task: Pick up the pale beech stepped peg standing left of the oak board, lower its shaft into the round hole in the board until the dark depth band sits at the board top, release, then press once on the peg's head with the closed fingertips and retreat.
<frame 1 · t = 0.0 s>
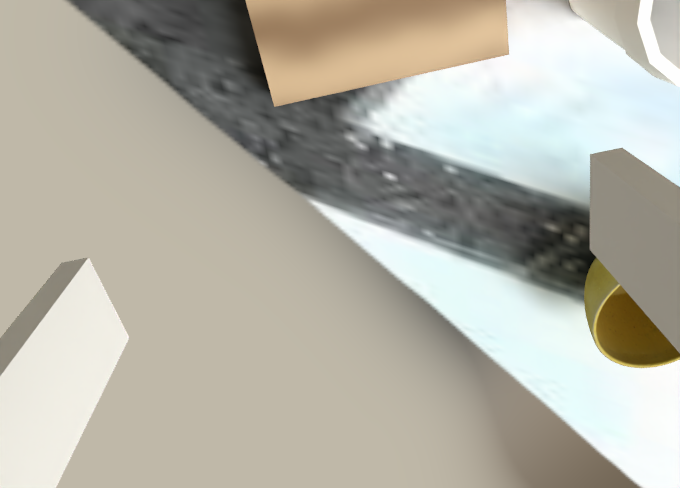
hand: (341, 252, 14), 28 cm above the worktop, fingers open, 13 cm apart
flower pot: (615, 267, 48), on the worktop
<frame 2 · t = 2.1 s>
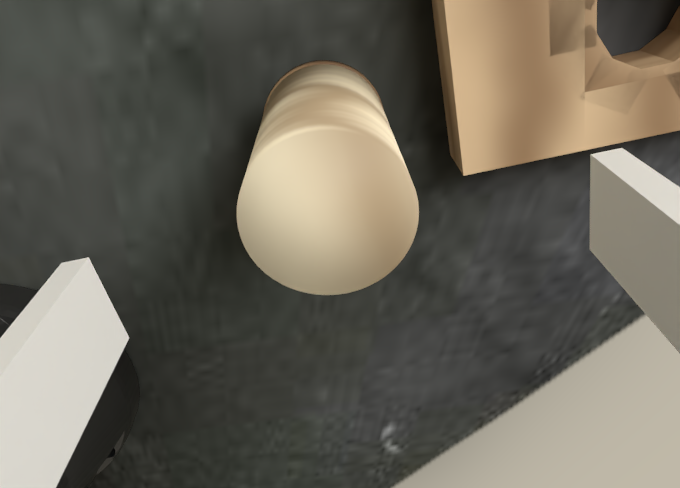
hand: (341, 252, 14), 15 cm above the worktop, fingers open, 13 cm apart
peg: (323, 106, 28), on the worktop
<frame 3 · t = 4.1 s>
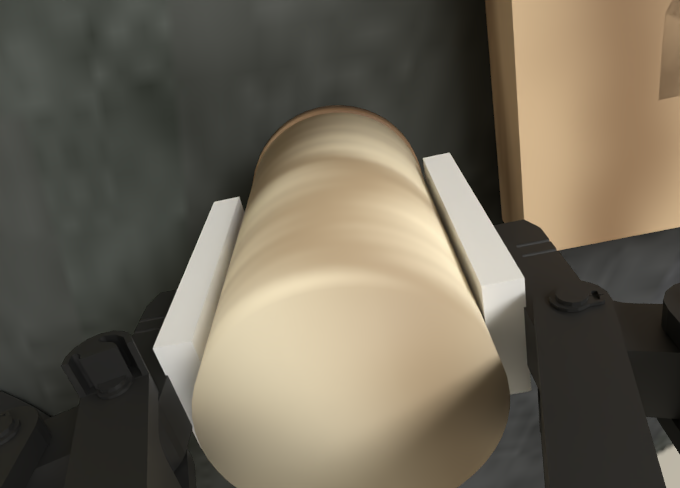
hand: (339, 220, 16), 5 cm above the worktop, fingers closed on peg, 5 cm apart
peg: (336, 157, 21), on the worktop, touching gripper
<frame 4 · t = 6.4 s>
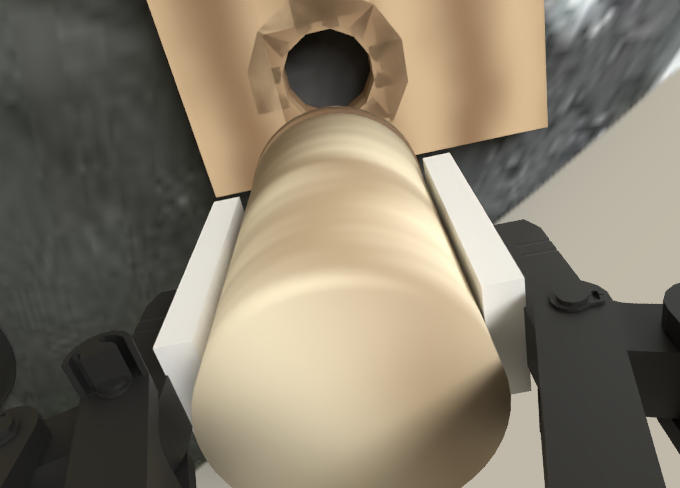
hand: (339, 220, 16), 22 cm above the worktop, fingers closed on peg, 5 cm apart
board: (351, 29, 35), on the worktop
peg: (336, 158, 21), point 17 cm above the worktop, touching gripper
when the fingers open (6 cm above the worktop, at t = 8.8 s): peg stays where it is, resting on board.
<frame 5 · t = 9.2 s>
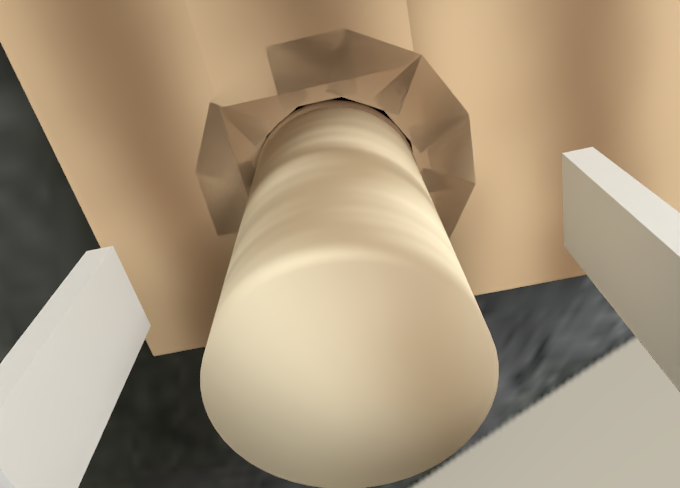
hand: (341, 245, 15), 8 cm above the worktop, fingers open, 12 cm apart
board: (376, 88, 21), on the worktop
peg: (334, 152, 21), resting on board
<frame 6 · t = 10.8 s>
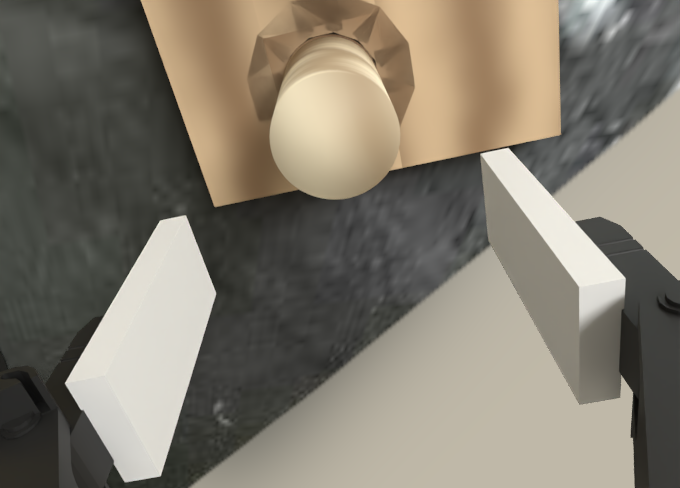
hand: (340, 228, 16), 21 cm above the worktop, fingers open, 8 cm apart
board: (356, 32, 33), on the worktop
peg: (330, 74, 34), resting on board
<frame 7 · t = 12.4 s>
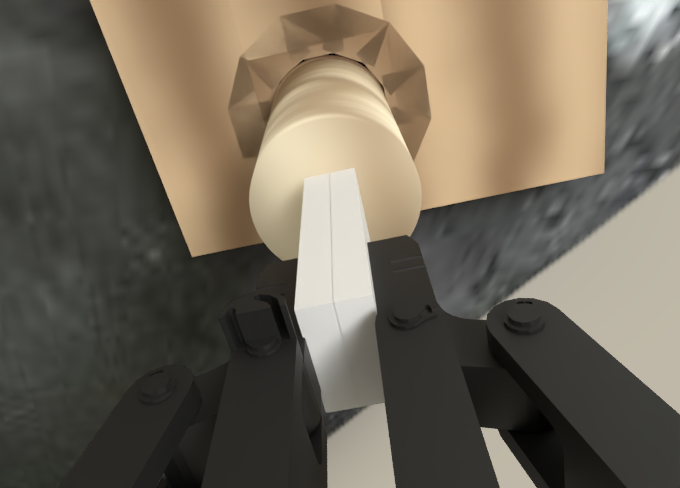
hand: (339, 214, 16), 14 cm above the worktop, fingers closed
board: (359, 51, 28), on the worktop
peg: (328, 100, 29), resting on board
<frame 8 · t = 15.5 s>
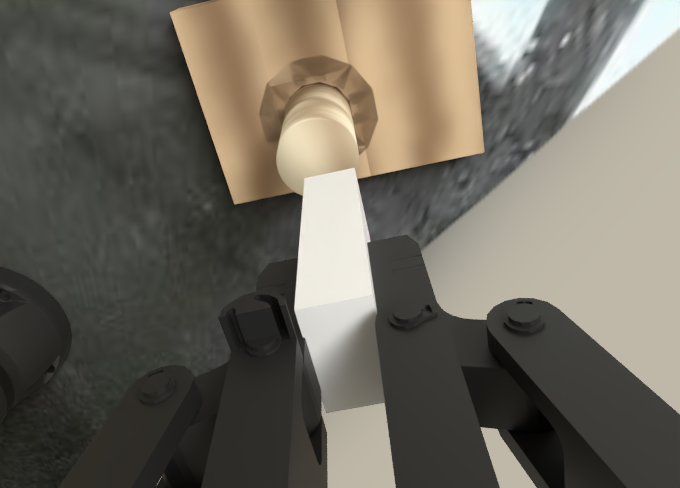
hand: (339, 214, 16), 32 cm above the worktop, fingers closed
board: (336, 78, 46), on the worktop
peg: (318, 108, 47), resting on board
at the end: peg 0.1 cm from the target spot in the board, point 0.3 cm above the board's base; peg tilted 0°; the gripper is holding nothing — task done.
